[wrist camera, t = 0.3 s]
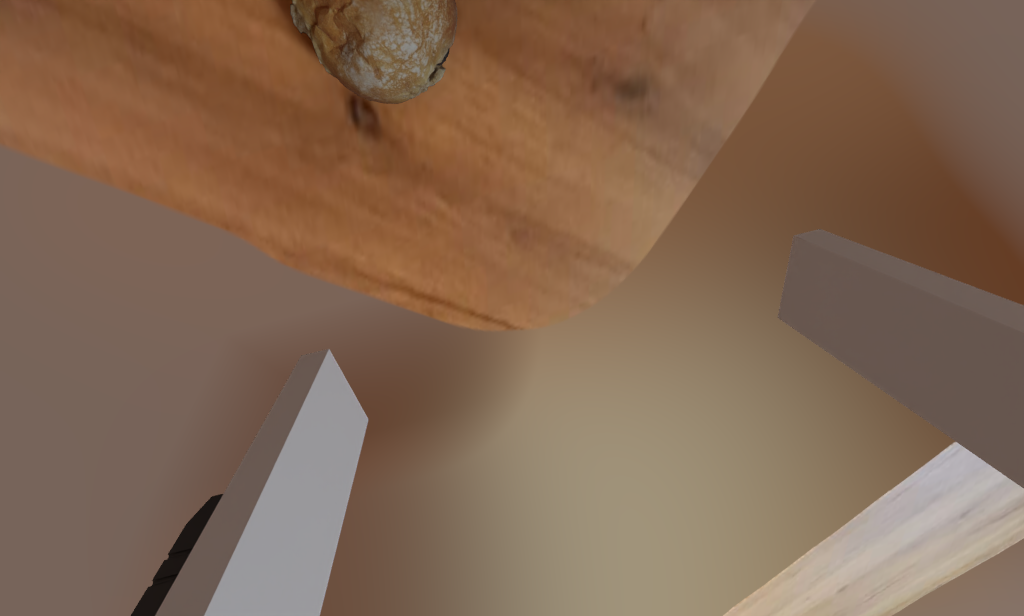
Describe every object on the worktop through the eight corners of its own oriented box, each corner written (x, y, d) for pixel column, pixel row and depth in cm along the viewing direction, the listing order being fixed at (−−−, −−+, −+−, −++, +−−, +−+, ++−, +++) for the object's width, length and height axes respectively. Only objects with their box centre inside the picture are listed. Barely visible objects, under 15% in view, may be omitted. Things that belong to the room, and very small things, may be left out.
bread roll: (406, 113, 33) (441, 140, 28) (270, 49, 27) (284, 71, 21) (450, -16, 30) (500, -10, 24) (303, -129, 23) (330, -154, 18)
